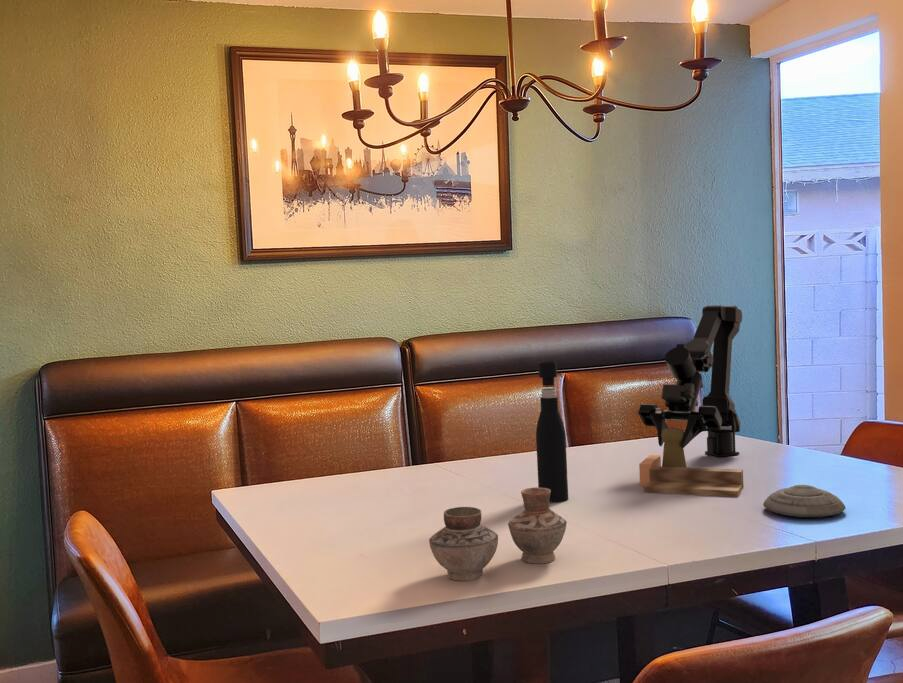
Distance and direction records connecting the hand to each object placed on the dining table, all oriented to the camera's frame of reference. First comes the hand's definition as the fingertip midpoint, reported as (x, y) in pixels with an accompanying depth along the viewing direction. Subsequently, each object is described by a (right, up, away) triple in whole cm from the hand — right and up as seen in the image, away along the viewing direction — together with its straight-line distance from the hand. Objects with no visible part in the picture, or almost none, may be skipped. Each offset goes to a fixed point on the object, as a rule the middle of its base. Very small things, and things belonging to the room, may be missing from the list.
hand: (671, 446), depth 209 cm
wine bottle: (-28, -11, -11) cm, 32 cm away
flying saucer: (+18, -10, -31) cm, 38 cm away
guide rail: (+4, -8, -5) cm, 10 cm away
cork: (+1, -7, +2) cm, 7 cm away
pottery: (-42, -14, -57) cm, 72 cm away
